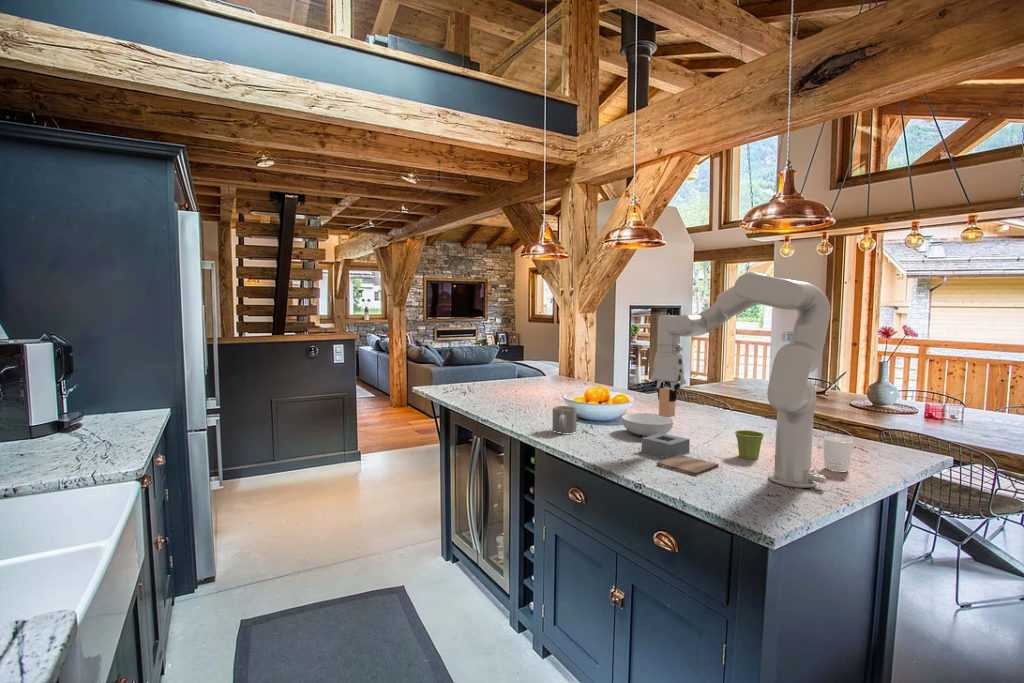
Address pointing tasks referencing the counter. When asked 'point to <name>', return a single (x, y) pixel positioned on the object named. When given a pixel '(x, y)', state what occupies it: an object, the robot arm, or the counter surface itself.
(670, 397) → the robot arm
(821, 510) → the counter surface
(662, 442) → the socket block
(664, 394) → the copper peg
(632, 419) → the serving bowl
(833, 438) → the white cup
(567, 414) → the coffee mug
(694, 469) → the walnut mat
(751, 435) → the plant pot
